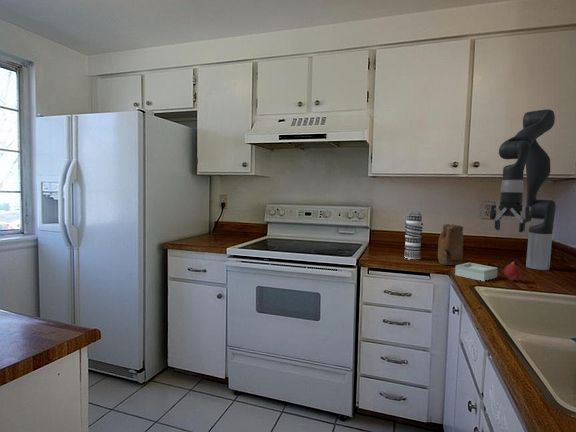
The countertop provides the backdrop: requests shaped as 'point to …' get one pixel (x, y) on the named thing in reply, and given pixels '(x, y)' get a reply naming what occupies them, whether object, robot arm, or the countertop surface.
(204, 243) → the countertop surface
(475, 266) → the stand
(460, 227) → the block
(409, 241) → the white grey cylinder
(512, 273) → the onion
